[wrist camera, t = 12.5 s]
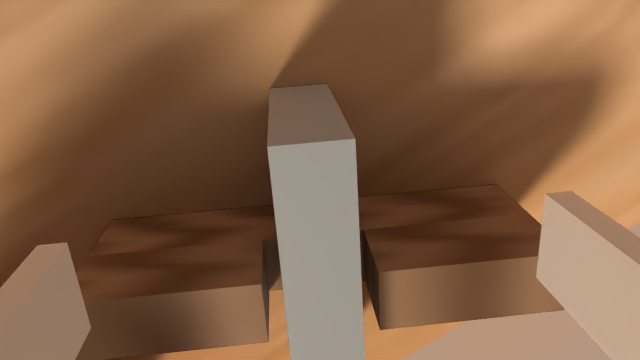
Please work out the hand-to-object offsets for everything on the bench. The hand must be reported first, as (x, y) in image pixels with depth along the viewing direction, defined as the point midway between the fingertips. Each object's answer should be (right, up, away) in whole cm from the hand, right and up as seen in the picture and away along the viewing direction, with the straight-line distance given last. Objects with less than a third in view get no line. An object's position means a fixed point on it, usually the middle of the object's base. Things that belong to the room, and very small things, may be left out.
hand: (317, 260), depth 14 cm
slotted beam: (0, 0, +15) cm, 15 cm away
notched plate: (0, 0, +15) cm, 15 cm away
